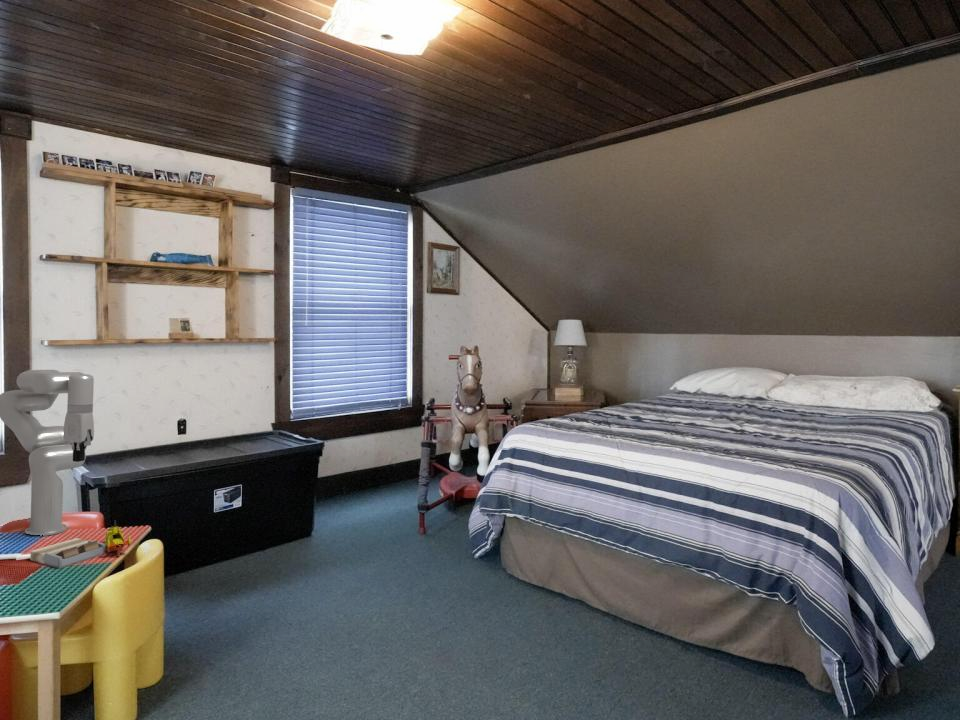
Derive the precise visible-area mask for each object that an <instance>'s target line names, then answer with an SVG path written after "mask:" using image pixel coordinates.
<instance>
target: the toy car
mask: <svg viewBox="0 0 960 720" xmlns="http://www.w3.org/2000/svg"><path fill="white" fill-rule="evenodd" d="M113 523H114V524H113V526H111V527H110V528H108V529H107V531H106V532H105V542H104V544H105V548H107V550H108V551H110V552H115V551H116V554H117V556H118V555H119V556H120V555H122V554H123V553H122V550H124V547H125V546H131V536H128V537H127V540H126V541H125V539H124V534H123V533H121V532H124V529H120V528H119V525H118V526H117V520H114V522H113ZM118 544H119V545H121V546H122V547H121V546H118ZM116 546H118V547H116ZM114 550H115V551H114Z"/></svg>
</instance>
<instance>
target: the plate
mask: <svg viewBox="0 0 960 720" xmlns="http://www.w3.org/2000/svg"><path fill="white" fill-rule="evenodd" d="M88 541H89V540H86V539H83V538H82V539H81V538H78V537H75V538H72V539H68V540H65V541H61V542H57V543H55V544H50V545H47V546H43V547H40V548H37V549H36V548H35V549H33V550H30V561H32V562H36V563H39V564H42V565H45V564H44V553H50V554H54V555H56V554H58V553H59V552H61V551H63V550H66V549H70V548H73V547H76V546H77V548H78V547H80V546H82V545H84V544H87V543H88Z"/></svg>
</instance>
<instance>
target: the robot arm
mask: <svg viewBox="0 0 960 720" xmlns="http://www.w3.org/2000/svg"><path fill="white" fill-rule="evenodd" d="M94 383H95V380H94V376H93V375H91V374H87V373H86V374H85V373H83V372H79V371H70V372H69V371H65V372H63V371H62V372H61V371H59V370H57V369H29V370H25V371H24V372H21V373H20V374H18V376H17V377H16V385H17V387H18V388H19V389H14V390H8V391H4V392H2V393H0V421H2V422H3V423H4V424H5V425H6V426H7V427H8V428H9V429H10V430H11V431H12V432H13V434H14V436H15V437H16V438H17V440H18V442H20V444H21V446H22V447H23V449H25V451H27V452H28V453H29V456H28V464H29V469H30V480H31V485H30V486H31V490H30V491H31V492H30V493H31V497H30V518H29V519H27V520H26V522H27V523H29V527H27V528H26V529H25V530H24V534H25V533H26V534H31V535H40V536H39V537H45V536H46V537H47V536H53V535H57V534H61V533H62V532H65V531H66V530H67V528H68V526H67V524H64V523H63V503H64V501H63V499H64V494H63V493H64V490H63V489H64V483H63V479H62V478H61V477H60V476H59V475H58V474H57V472H59V471H65V470H72V469H77V468H80V467H81V466H83V464H85V461H86V459H87V457H86V450H87V447H90V446H91V445H92V441H93V440H94V437H95V424H94V423H95V422H94ZM59 394H67V406H66V407H67V408H66V409H67V412H66V415H65V417H64V423H63V425H52V426H44V425H42V424H41V423H40V421H39V419H37V417H35V416H33V415H31V414H29V413H27V412H37V411H45V410H48V409H50V408H51V407H52V406H53V405H54V402H55V401H56V400H57V398H58V396H59ZM26 534H25V535H26ZM42 535H43V536H42Z"/></svg>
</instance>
